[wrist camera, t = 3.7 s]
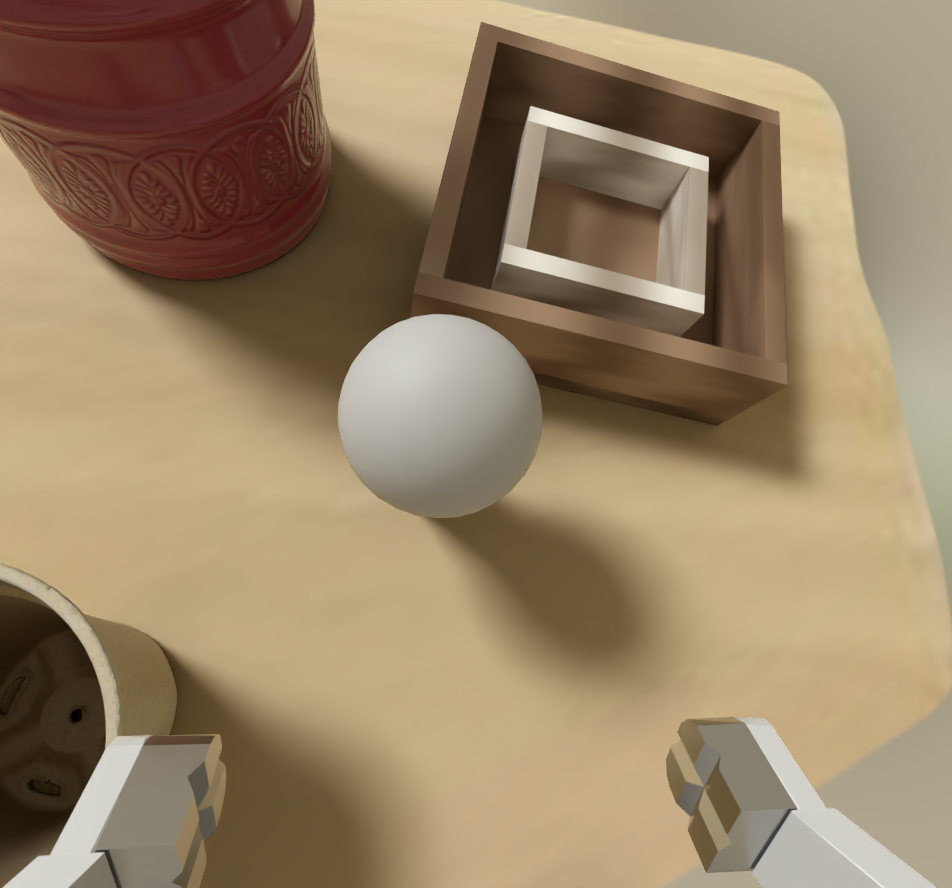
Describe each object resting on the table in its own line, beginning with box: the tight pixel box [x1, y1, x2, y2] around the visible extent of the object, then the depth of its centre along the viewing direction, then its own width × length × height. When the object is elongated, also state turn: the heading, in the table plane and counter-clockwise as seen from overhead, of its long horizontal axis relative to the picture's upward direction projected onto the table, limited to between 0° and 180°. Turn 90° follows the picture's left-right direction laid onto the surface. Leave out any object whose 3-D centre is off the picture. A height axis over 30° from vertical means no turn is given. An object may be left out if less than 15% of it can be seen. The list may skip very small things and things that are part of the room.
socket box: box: [411, 22, 788, 425], centre depth 27 cm, size 16×16×5 cm
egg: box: [338, 314, 543, 518], centre depth 18 cm, size 6×6×11 cm
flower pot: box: [0, 563, 177, 888], centre depth 15 cm, size 9×9×9 cm
